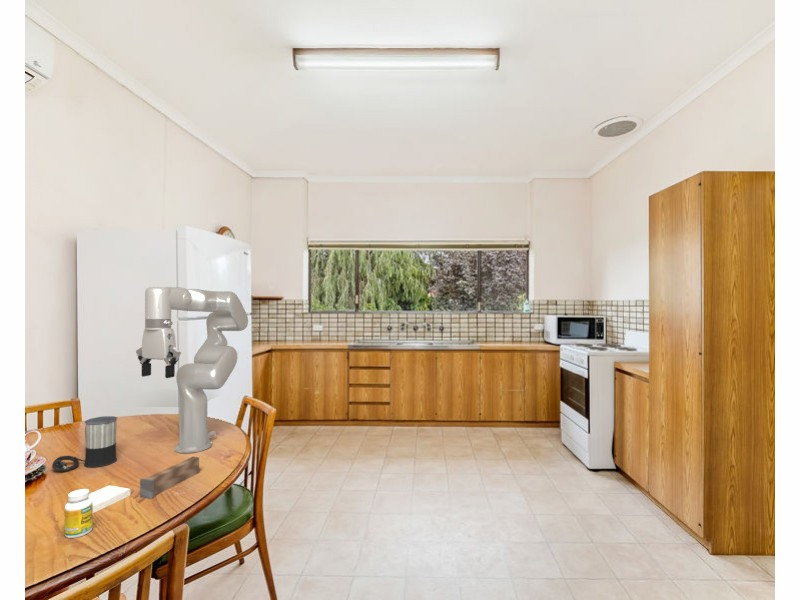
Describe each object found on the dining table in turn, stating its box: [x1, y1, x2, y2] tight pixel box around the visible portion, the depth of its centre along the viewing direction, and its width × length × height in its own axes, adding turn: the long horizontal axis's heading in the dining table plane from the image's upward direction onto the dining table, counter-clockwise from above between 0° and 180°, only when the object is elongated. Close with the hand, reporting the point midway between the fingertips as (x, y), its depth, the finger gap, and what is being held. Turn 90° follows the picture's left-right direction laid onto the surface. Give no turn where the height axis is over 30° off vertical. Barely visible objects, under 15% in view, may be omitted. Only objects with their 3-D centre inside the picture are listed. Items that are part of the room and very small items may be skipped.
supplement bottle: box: [64, 488, 94, 539], centre depth 101 cm, size 5×5×10 cm
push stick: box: [139, 456, 200, 500], centre depth 128 cm, size 19×4×5 cm, turn 163°
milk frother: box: [51, 415, 118, 472], centre depth 142 cm, size 14×16×15 cm
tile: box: [89, 484, 131, 514], centre depth 116 cm, size 2×8×12 cm
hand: (158, 376), depth 140 cm, fingers open, 9 cm apart
